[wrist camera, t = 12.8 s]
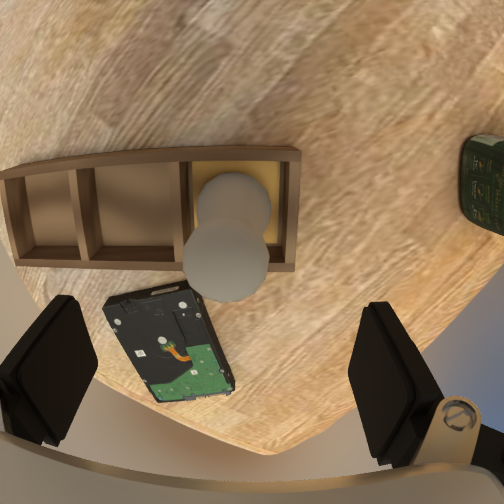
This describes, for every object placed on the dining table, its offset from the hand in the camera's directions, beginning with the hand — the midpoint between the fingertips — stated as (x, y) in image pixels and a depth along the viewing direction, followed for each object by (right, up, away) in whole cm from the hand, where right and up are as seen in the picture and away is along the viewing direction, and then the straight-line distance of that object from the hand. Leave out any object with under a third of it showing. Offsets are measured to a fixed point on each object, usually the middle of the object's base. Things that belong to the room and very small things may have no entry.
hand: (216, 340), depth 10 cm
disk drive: (-8, -7, +25) cm, 27 cm away
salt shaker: (0, +7, +17) cm, 19 cm away
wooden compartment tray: (-9, +7, +18) cm, 21 cm away
